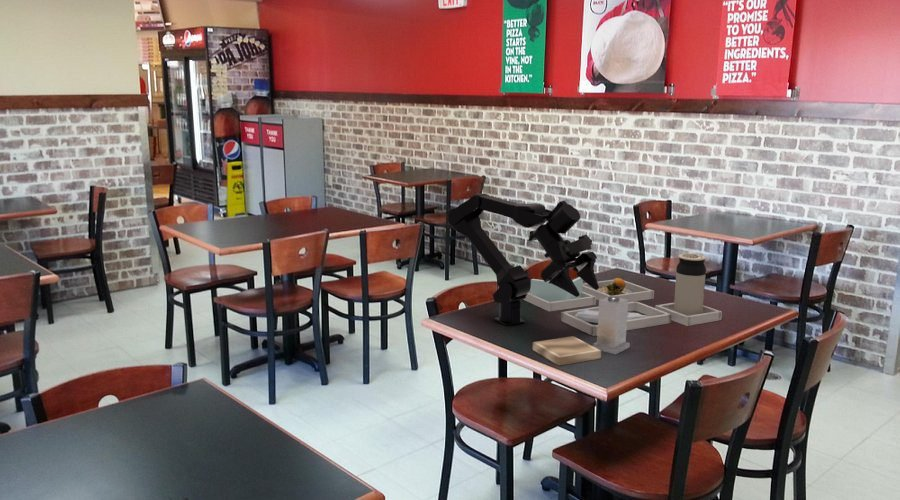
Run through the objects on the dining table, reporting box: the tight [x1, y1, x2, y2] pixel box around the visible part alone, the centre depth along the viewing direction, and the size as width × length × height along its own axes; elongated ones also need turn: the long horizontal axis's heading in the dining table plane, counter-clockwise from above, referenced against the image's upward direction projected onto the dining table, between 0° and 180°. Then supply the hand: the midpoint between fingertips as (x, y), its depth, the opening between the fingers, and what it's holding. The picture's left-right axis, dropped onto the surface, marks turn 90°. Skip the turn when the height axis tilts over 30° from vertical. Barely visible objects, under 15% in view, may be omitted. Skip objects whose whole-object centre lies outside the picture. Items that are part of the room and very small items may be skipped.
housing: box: [592, 296, 631, 355], centre depth 184 cm, size 6×7×13 cm
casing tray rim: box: [560, 301, 672, 337], centre depth 207 cm, size 15×27×2 cm, turn 116°
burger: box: [597, 277, 634, 296], centre depth 234 cm, size 12×12×8 cm
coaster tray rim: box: [522, 288, 597, 312], centre depth 227 cm, size 17×17×2 cm
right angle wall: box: [530, 276, 584, 302], centre depth 227 cm, size 12×12×8 cm
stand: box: [532, 335, 602, 366], centre depth 181 cm, size 12×12×2 cm
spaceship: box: [575, 310, 651, 324], centre depth 207 cm, size 23×7×4 cm, turn 95°
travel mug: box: [673, 253, 707, 316], centre depth 210 cm, size 8×8×18 cm
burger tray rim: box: [582, 279, 655, 302], centre depth 235 cm, size 17×17×2 cm
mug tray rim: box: [654, 302, 723, 327], centre depth 212 cm, size 13×13×2 cm
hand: (588, 292), depth 188 cm, fingers open, 9 cm apart
